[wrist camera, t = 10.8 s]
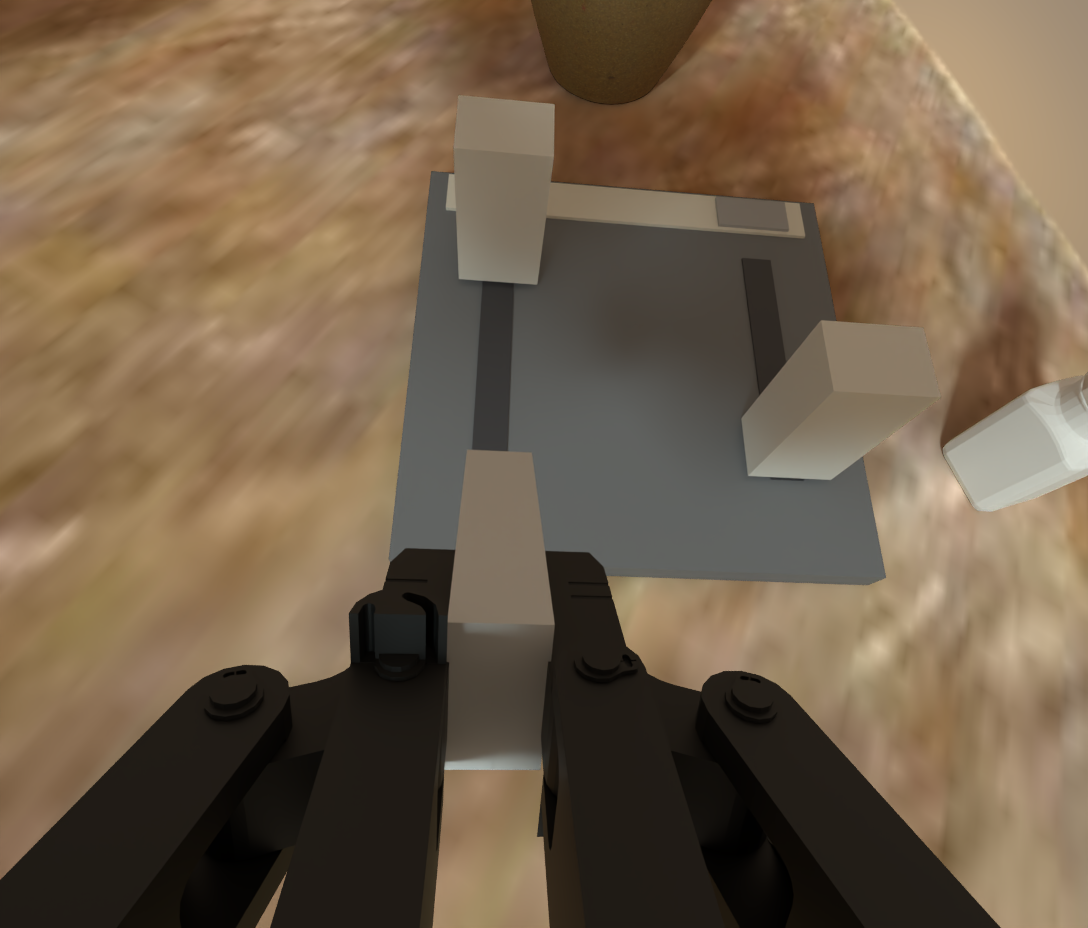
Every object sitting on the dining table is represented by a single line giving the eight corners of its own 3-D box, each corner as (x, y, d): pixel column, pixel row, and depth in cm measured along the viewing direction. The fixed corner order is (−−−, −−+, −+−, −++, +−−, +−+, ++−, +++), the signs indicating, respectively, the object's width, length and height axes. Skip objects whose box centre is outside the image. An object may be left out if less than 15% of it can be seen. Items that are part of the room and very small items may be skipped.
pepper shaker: (972, 518, 33) (1152, 436, 24) (932, 447, 34) (1088, 346, 25) (1037, 498, 34) (1233, 412, 25) (995, 430, 35) (1167, 326, 26)
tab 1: (537, 284, 34) (553, 156, 26) (458, 279, 33) (453, 148, 26) (538, 238, 35) (554, 104, 27) (462, 232, 34) (458, 95, 27)
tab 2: (830, 479, 31) (941, 397, 23) (747, 475, 30) (833, 391, 23) (820, 422, 32) (923, 327, 25) (741, 418, 32) (820, 320, 24)
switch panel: (867, 585, 31) (891, 575, 29) (392, 567, 29) (387, 556, 27) (802, 222, 39) (816, 198, 38) (432, 192, 38) (430, 165, 36)
